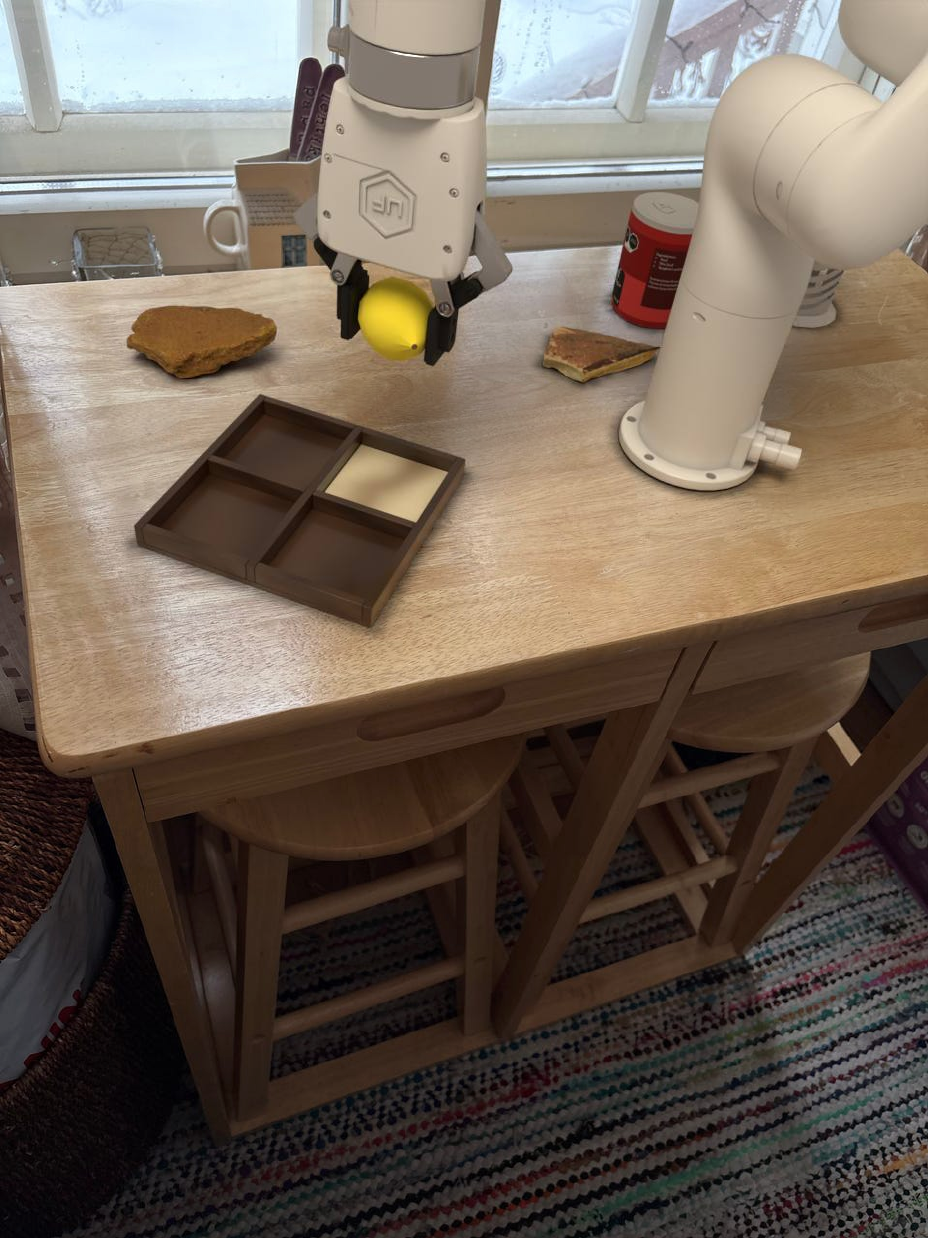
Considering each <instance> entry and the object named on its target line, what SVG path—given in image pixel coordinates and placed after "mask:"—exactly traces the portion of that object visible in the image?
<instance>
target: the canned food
mask: <svg viewBox="0 0 928 1238" xmlns="http://www.w3.org/2000/svg"><path fill="white" fill-rule="evenodd" d="M698 206H699V201H696V200H694V199H692V198H690V197H687V196H683V195H680V194H677V193H671V192H665V191H664V192H663V191H661V192H660V191H652V192H645V193H642V194H639V195H638V196H636V197H635V199H633V203H632V205H631V209H630V214H629V217H628V222H627V226H626V230H625V234H624V239H623V243H622V248H621V253H620V257H619V260H618V266H617V269H616V274H615V278H614V282H613V287H612V290H611V291H612V292H611V295H610V296H611V306H612V309H613V310H614V312H615V313H616V314H617V315H618V316H619V317H621V318H622V319H623V320H625V321H627V322H628V323H630V324H633V325H635V326H638V327H643V328H648V329H666V326H667V323H668V319H669V316H670V312H671V309H672V305H673V302H674V298H675V295H676V291H677V288H678V284H679V281H680V277H681V274H682V271H683V267H684V264H685V260H686V257H687V253H688V249H689V246H690V242H691V238H692V234H693V230H694V225H695V221H696V217H697V211H698Z"/></svg>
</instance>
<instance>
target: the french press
mask: <svg viewBox="0 0 928 1238" xmlns="http://www.w3.org/2000/svg"><path fill="white" fill-rule="evenodd" d="M881 78H882V77H881V76H880V75H878V74H877V78H876V81H875V83H874V86H873V88H872V90H871V94H872V95H874V96H875V92H876V90H877V87H878V84H879V81H880V79H881ZM821 271H826V273H825V274H824V275H820V274H821ZM844 273H845V270H839V269H833V268H830V267H827V266H825V265H823V264H821V263H819V262H817V261H816V260H814V264H813V269H812V273H811V277H810V280H809V283H808V286H807V289H806V292H805V295H804V297H803V300H802V302H801V305H800V307H799V309H798V312H797V314H796V317H795V319H794V322H793V325H792V327H796V328H811V329H814V328H820V327H825V326H828V325H830V324H831V323H832V322H833V321H835V320H836V315H837V310H836V308H835V306H834V304H833V300H834V297H835V296H836V291H837V290H838V288H839V285H840V283H841V282H840V280H842V279H843V275H844ZM816 283H821V285H820V286H816Z"/></svg>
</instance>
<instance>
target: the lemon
mask: <svg viewBox="0 0 928 1238" xmlns="http://www.w3.org/2000/svg"><path fill="white" fill-rule="evenodd" d="M434 307H435V305H434V304H433V301H432V299H431V298H430V296H429V294H428V293H427V291H425V290H424V289H423V288H422V287H420V286H419V285H417V284H416V283H415V282H414V281H412V280H408V279H405V278H401V277H395V276H390V277H385V278H383V279H380V280H378V281H376V282H373V283H372V284H371V285H370V286H369V289H368V290H367V292H366V293H365V294H364V296H363V297H362V299H361V300H360V301H359V312H358V321H359V324H360V327H361V329H360V331H361V334H362V337H363V339H364V340H365V342H367V344H368V345H369V346H370V348H371V349H372V350H373V351H374V352H375V353H376V354H378V355H379V356H381V357H384V358H385V359H387V360H389V361H398V362H404V361H408V360H410V359H413V358H415V357H418V356H420V355H421V354H422V353H423V352H425V342H426V331H427V320H428V315H429V313H430V312H431V310H432V309H433V308H434Z"/></svg>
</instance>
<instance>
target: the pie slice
mask: <svg viewBox="0 0 928 1238" xmlns="http://www.w3.org/2000/svg"><path fill="white" fill-rule="evenodd" d="M660 347H661V346H655V345H651V344H647V343H643V342H634V341H631V340H627V339H624V338H620V337H617V336H613V335H607V334H603V333H600V332H594V331H589V330H584V329H579V328H571V327H567V326H557V327H555V328H554V329H552V332H551V335H550V338H549V343H548V346H547V348H546V349H545V351H544V354H543V362H542V366H543V367H545V368H547V369H549V368H554V369H555V370H558V372H559V373H561V374H563V375H564V376H565V377H568V378H570V379H572V380H574V381H578V382H581V383H586V382H588V380H590V379H593V378H600V377H604V376H605V375H608V374H614V373H618V372H623V371H625V370H628V369H632V368H634V367H638V366H640V365H642V364H644V363H645V362H647V361H650V360H652V359H653V358H654V357H655V354H656V352H659V351H660Z"/></svg>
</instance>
